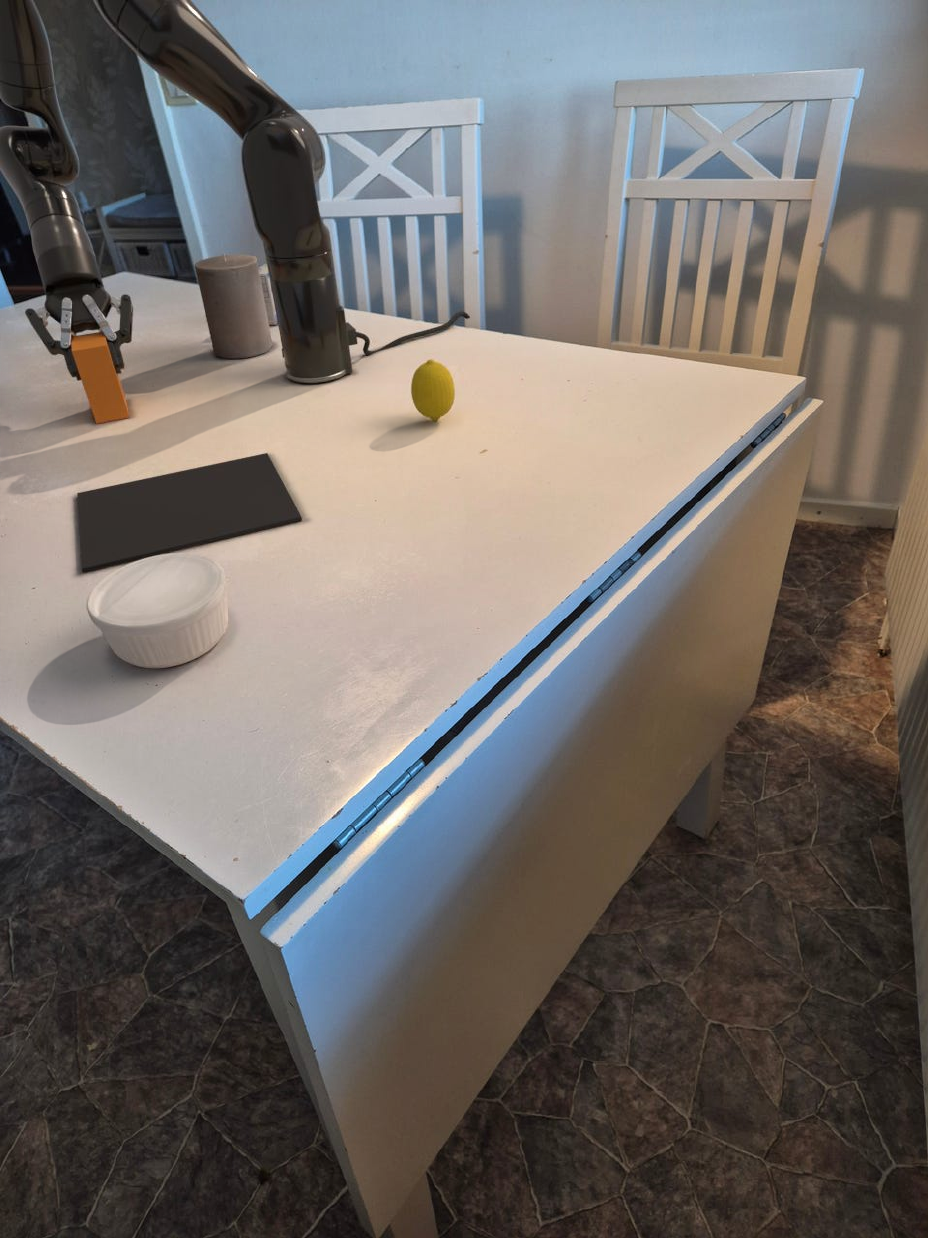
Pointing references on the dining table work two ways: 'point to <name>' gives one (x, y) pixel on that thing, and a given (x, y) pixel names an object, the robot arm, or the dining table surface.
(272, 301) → the medicine box
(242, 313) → the pillar candle
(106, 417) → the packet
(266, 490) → the mat
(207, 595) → the ramekin
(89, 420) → the dining table surface
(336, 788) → the dining table surface
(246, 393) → the dining table surface
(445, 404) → the lemon
